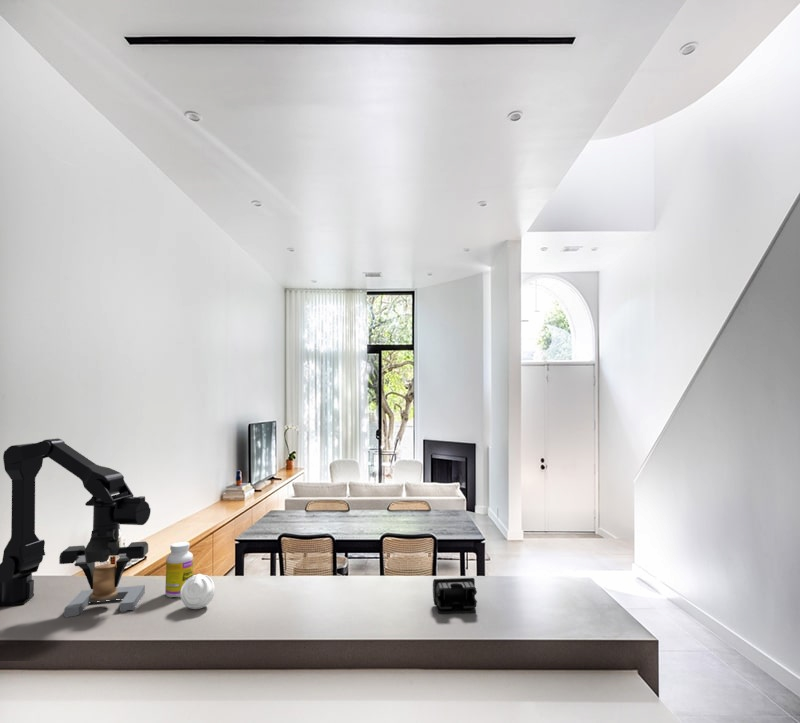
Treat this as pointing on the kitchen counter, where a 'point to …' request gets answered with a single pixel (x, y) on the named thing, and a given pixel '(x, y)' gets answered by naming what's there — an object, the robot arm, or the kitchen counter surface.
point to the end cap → (454, 595)
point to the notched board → (128, 595)
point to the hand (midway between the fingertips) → (104, 587)
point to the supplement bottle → (178, 568)
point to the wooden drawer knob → (104, 582)
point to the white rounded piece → (197, 591)
